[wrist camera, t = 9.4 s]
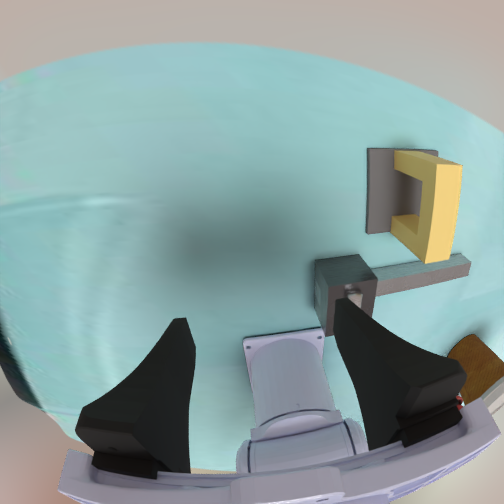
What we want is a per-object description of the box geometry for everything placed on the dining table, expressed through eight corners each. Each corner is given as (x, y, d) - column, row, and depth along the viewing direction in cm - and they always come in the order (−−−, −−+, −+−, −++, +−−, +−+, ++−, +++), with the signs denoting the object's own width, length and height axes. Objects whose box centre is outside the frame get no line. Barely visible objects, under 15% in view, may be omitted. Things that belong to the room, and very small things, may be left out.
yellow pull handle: (413, 229, 22) (449, 259, 17) (390, 232, 22) (424, 263, 17) (418, 151, 19) (462, 165, 14) (394, 150, 19) (436, 164, 14)
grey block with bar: (454, 279, 25) (478, 304, 21) (314, 307, 25) (327, 344, 21) (463, 238, 23) (492, 261, 19) (314, 260, 23) (332, 294, 19)
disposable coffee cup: (490, 330, 31) (528, 379, 21) (454, 372, 35) (484, 423, 24) (468, 320, 29) (514, 379, 18) (427, 368, 33) (461, 430, 22)
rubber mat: (429, 225, 22) (431, 226, 22) (365, 232, 22) (367, 234, 22) (435, 150, 19) (438, 151, 19) (367, 148, 19) (369, 149, 19)
